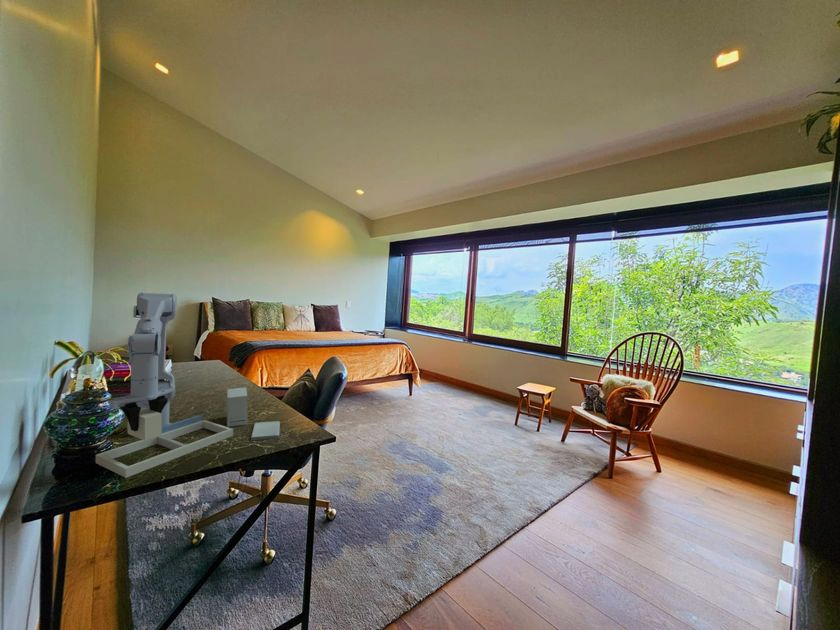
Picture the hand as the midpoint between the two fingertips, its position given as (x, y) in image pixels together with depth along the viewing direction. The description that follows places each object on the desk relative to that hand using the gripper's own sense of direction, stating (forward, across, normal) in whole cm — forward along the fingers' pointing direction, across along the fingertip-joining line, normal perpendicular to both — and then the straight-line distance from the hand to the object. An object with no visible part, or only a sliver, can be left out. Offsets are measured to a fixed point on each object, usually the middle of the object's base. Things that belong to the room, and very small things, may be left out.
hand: (144, 427), depth 93 cm
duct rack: (+9, +7, 0) cm, 11 cm away
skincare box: (+9, +30, +3) cm, 32 cm away
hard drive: (+9, +29, -13) cm, 33 cm away
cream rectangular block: (+2, 0, 0) cm, 2 cm away
